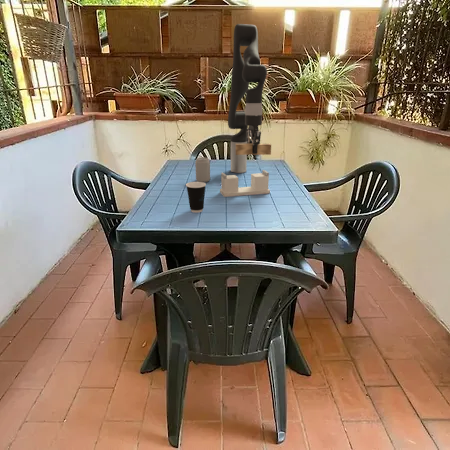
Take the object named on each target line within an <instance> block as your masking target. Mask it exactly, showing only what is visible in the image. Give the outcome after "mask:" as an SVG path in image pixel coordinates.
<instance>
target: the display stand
mask: <svg viewBox="0 0 450 450" xmlns="http://www.w3.org/2000/svg"><path fill="white" fill-rule="evenodd" d="M269 176H270V172H268V171H267V170H266V169H262V172H261V173H259V172H258V173H251V174H250V186H242V187H239V177H238V176H237V175H236V174H229V175H227V174H226V173H224V172H221V177H220V178H221V179H220V180H221V181H220V182H221V188H220V189H219V193H220V194H221V195H222V196H223V197H224V198H228V197H239V196H242V197H243V196H255V195H264V194H271V190H270V188H269V181H270V180H269V178H270V177H269Z"/></svg>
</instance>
